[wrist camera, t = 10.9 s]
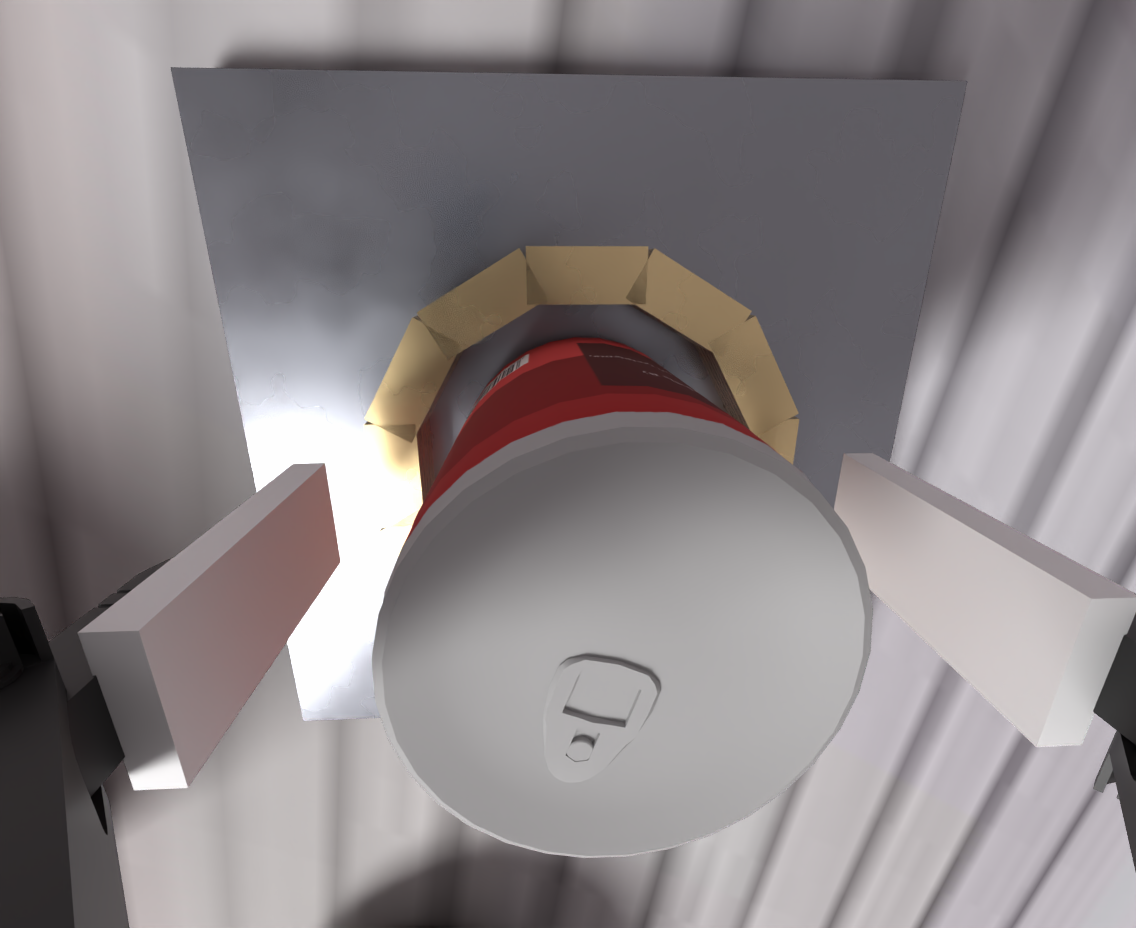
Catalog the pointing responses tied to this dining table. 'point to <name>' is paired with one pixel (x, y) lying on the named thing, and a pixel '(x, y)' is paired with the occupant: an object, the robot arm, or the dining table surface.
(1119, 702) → the robot arm
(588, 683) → the canned food
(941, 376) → the dining table surface
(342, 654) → the collar plate
